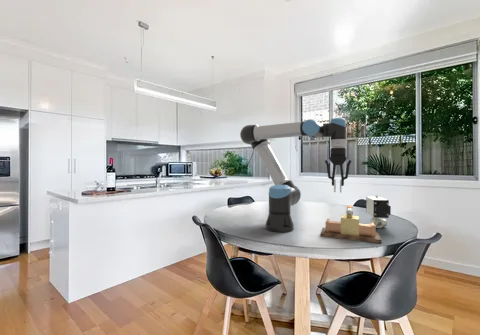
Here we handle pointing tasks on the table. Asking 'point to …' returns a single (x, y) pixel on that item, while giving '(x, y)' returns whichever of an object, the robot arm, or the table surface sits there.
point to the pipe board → (350, 237)
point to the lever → (349, 210)
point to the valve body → (350, 226)
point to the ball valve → (378, 210)
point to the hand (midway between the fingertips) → (337, 191)
